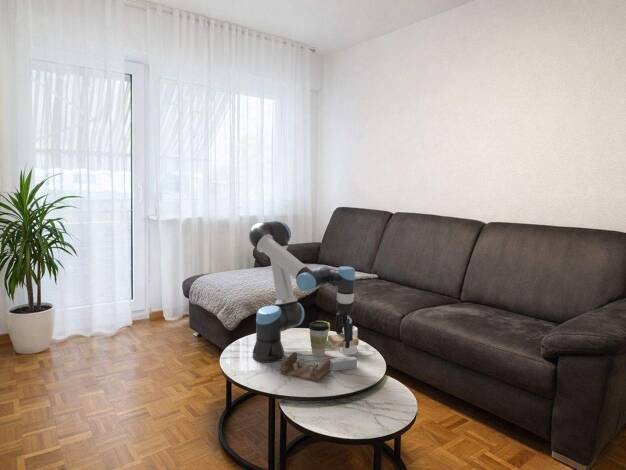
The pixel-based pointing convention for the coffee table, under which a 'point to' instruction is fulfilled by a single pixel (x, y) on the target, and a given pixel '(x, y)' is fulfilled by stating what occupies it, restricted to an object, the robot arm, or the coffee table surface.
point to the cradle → (304, 369)
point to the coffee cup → (318, 337)
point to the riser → (343, 363)
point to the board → (341, 340)
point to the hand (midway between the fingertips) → (342, 350)
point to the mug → (352, 348)
